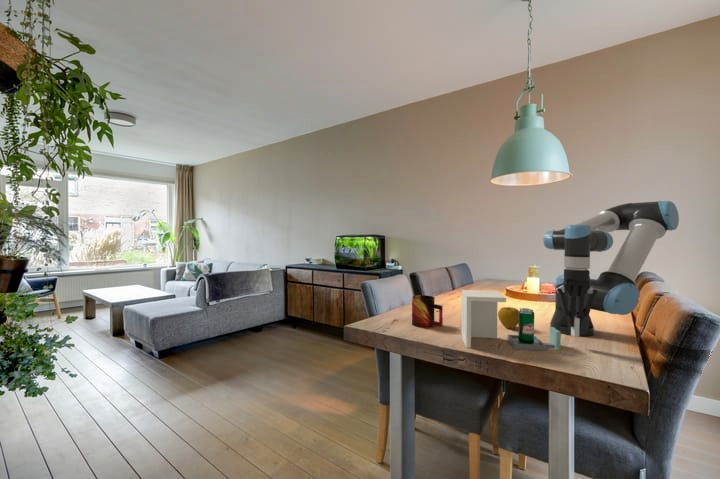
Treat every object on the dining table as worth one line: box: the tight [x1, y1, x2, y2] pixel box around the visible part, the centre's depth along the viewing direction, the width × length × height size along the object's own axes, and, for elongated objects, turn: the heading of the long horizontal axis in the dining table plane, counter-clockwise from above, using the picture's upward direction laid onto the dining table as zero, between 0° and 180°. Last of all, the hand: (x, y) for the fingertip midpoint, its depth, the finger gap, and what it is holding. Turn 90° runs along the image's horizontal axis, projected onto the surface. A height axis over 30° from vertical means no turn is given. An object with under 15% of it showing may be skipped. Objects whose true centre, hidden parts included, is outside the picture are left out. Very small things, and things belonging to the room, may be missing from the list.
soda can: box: [517, 307, 535, 344], centre depth 118 cm, size 5×5×12 cm
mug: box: [411, 294, 444, 329], centre depth 143 cm, size 10×14×12 cm
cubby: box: [461, 289, 507, 349], centre depth 120 cm, size 13×13×18 cm
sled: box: [507, 326, 562, 352], centre depth 117 cm, size 15×10×6 cm
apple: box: [497, 306, 520, 330], centre depth 139 cm, size 9×9×9 cm
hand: (574, 335), depth 115 cm, fingers closed
